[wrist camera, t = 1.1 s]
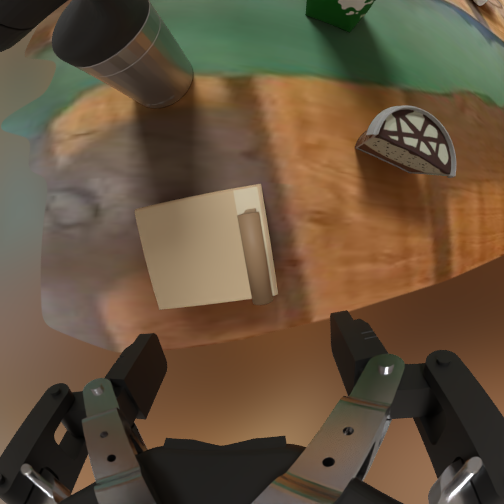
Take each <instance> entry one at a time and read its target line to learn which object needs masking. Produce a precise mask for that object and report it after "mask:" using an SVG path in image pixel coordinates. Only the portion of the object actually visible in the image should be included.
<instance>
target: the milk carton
mask: <svg viewBox="0 0 504 504" xmlns="http://www.w3.org/2000/svg"><path fill="white" fill-rule="evenodd" d="M374 1H375V0H307V4H306V15H307V16H310V17H313V18H315V19H318V20H321V21H323V22H326V23H329V24H331V25H333V26H336V27H338V28H341V29H343V30H345V31H347V32H351V30H352V29H353V28H354V27H355V26H356V24H357V23H358V22H359V21H360V20H361V19H362V17H363V16H364V15H365V14H366V13H367V11H368V10H369V9H370V7H371V6H372V4H373V3H374Z"/></svg>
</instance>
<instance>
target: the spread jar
mask: <svg viewBox="0 0 504 504" xmlns="http://www.w3.org/2000/svg"><path fill="white" fill-rule="evenodd" d="M473 1H474V2H475V3H476V4H477V5H479V6H482V5H483V4H485V3H486V2H487V0H473Z"/></svg>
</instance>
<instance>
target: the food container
mask: <svg viewBox="0 0 504 504" xmlns="http://www.w3.org/2000/svg"><path fill="white" fill-rule="evenodd" d="M355 148H356V149H358V150H360V151H363V152H365V153H367V154H370V155H372V156H374V157H377V158H379V159H381V160H383V161H385V162H387V163H390V164H392V165H394V166H396V167H398V168H400V169H402V170H404V171H406V172H408V173H414V174H429V175H442V176H448V178H452V177H453V176H455V174H456V155H455V150H454V147H453V144H452V141H451V139H450V136H449V134H448V133H447V131H446V129H445V128H444V126H443V125H442V124H441V123H440V122H439V121H438V120H437V119H436V118H435V117H434V116H433V115H431V114H430V113H428V112H427V111H425V110H423V109H420V108H417V107H414V106H394V107H390V108H387V109H385V110H383V111H382V112H380V113H379V114H378V115H377V116H376V117H375V118H374V120H373V121H372V122H371V124H370V126H369V128H368V130H367V131H365V132H364V133H363V134H362V135H361V136H360V138H359V139H358V141H357V143H356V146H355Z"/></svg>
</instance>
